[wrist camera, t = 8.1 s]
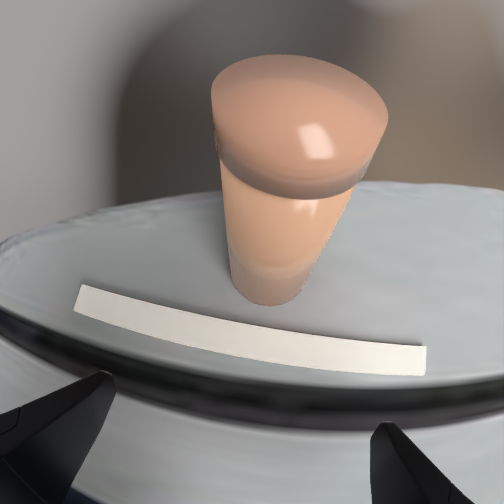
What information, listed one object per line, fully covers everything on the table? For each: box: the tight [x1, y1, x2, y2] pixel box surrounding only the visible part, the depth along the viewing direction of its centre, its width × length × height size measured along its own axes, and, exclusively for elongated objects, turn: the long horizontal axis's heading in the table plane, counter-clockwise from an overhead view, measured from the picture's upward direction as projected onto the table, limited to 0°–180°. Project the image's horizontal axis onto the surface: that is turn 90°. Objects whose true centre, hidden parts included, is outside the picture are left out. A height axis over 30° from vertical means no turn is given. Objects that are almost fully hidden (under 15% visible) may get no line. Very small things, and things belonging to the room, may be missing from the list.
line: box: [73, 284, 426, 376], centre depth 17 cm, size 24×2×1 cm, turn 80°
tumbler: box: [211, 54, 388, 306], centre depth 13 cm, size 5×5×13 cm
